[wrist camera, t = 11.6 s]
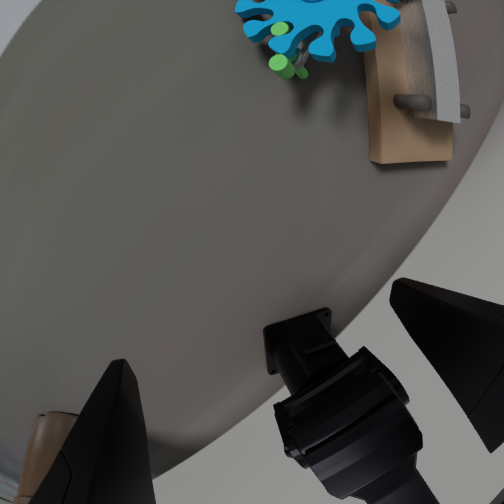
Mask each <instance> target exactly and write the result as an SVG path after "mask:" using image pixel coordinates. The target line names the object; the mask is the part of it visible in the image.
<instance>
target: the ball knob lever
mask: <svg viewBox="0 0 504 504" xmlns="http://www.w3.org/2000/svg"><path fill="white" fill-rule="evenodd" d="M395 6H396V9H397V10H398V11H399V12H400V16H401V22H400V23H399V25H400V31H401V37H402V43H403V50H404V57H405V66H406V75H407V86H408V94H419V95H428V96H429V97H430V98H431V101H432V108H431V110H430V111H421V110H411V109H409V116H410V117H419V118H426V119H434V120H441V121H448V122H454V123H460V97H459V83H458V73H457V64H456V56H455V50H454V43H453V38H452V32H451V27H450V22H449V18H448V14H447V9H446V5H445V2H444V0H399V1H398V3H395Z"/></svg>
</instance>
